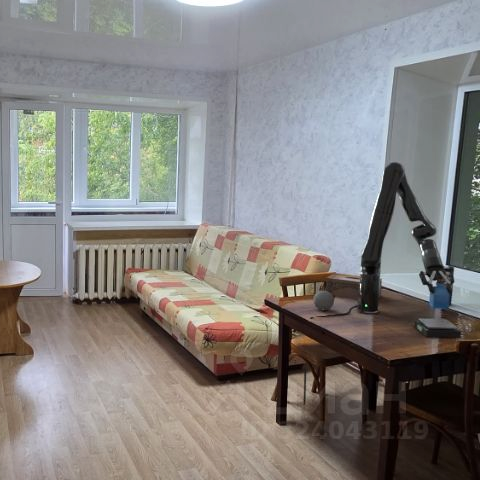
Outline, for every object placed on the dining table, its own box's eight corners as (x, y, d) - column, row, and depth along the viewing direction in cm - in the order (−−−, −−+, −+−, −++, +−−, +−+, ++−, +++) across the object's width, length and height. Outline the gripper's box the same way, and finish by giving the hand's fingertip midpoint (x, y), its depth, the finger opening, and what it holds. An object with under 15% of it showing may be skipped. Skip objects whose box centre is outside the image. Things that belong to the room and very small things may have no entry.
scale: (425, 337, 226) (425, 330, 225) (413, 326, 240) (413, 320, 239) (460, 337, 224) (460, 331, 224) (446, 327, 238) (446, 320, 238)
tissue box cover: (325, 294, 295) (326, 277, 294) (335, 289, 307) (335, 272, 305) (373, 302, 280) (373, 283, 278) (380, 296, 291) (381, 278, 289)
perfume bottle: (448, 309, 227) (450, 282, 225) (433, 308, 228) (435, 281, 226) (444, 304, 233) (446, 278, 231) (429, 304, 234) (430, 278, 232)
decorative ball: (329, 314, 260) (330, 294, 259) (310, 310, 266) (310, 291, 265) (336, 309, 268) (337, 290, 266) (317, 306, 274) (317, 287, 272)
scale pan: (428, 328, 226) (428, 326, 226) (417, 320, 238) (417, 318, 238) (457, 329, 225) (457, 327, 225) (445, 320, 237) (445, 318, 237)
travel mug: (443, 306, 269) (445, 268, 266) (431, 302, 277) (434, 265, 273) (455, 305, 271) (457, 267, 268) (443, 301, 279) (446, 264, 275)
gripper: (418, 256, 235) (426, 288, 226) (451, 256, 234) (461, 288, 224) (413, 265, 241) (421, 296, 232) (445, 265, 240) (455, 297, 230)
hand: (441, 292), depth 228 cm, fingers closed on perfume bottle, 6 cm apart
